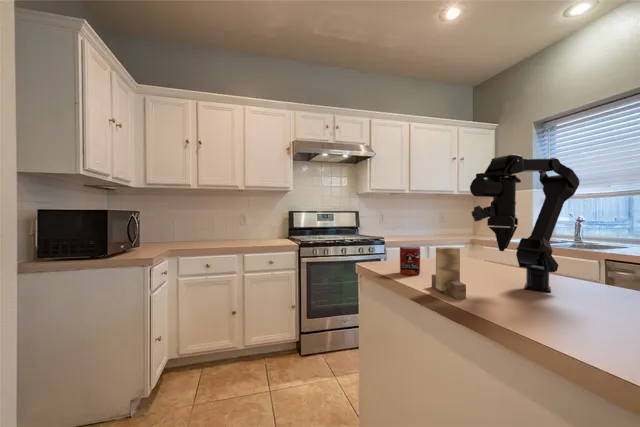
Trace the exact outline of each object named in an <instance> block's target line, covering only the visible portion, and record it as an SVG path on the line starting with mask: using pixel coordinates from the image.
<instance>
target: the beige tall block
mask: <svg viewBox="0 0 640 427" xmlns="http://www.w3.org/2000/svg"><path fill="white" fill-rule="evenodd" d="M435 274H436V288H437V289H439V290H441V291H447V281H458V282H461V248H460V247H454V246H449V247H448V246H446V247H443V246H440V247H439V246H437V247H435ZM437 289H436V290H437ZM439 290H438V291H439ZM441 291H440V292H441Z"/></svg>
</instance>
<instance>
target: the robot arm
mask: <svg viewBox="0 0 640 427" xmlns="http://www.w3.org/2000/svg"><path fill="white" fill-rule="evenodd" d="M525 172H538V174H539V179H538V180H539V182H540V184H541V185H542V186H543V187H542V192H543V194H544V197H545V198H544V200H543V203H542V206H541V208H540V211H539V214H538V216H537V219H536V220H535V224H534V225H533V226H534V227H533V229H532V232H531V233H530V236H528V237H527V238H525V237H522V238H521V239H520V240H519V243H518V246H517V247H516V254H515V255H516V260H517V263H518V266H519V268H523V269H526V274H525V275H526V278H525V279H526V280H525V282H526V283H525V284H524V289H525V290H530V291H539V292H547V293H552V287H551V286H550V273H556V272H557V271H558V268H559V263H558V262H557V260H555V258H554V256H553V255H552V254H553V248H552V245H551V243H550V240H551V238H552V235H553V233H554V230H555V228H556V225H557V223H558V220H559V218H560V217H559V216H560V214H561V211H562V210H563V207H564V204H565V202H566V201H567V200H569V199H570V198H572V197H573V196H574V195H575V193H576V192H577V190H578V188H579V185H580V179H579V177H578V176H577V174H576V173H575V172H574V170H573V169H572V168H570V167H568V166H566V165H565V164H562V163H561V162H560V160H559V159H558V158H555V157H550V158H523V156H522V155H519V154H515V153H513V154H512V153H511V154H507V155H502V156H497V157H493V158H492V159H491V161H490V163H489V164H488V166H487V168H486V169H485V171H484V172H480V173H476V174H475V178H474V179H473V180H472V181H471V183H470V185H469V191H470V194H471V195H473V196H474V197H476V198H477V197H480V198H481V197H482V198H492V200H491V202H490V205H489V206H485V207H482V206H481V205H477V206H474V207H473V210H472V211H471V217H473V218H472V219H473V221H474V222H479V221H482V220H483V219H487V227H488V228H489V229H490V230H491V231H492V232H493V233H494V234H495V239H496V243H497V247H498V250H499V252H504V251H505V250H506V249H508V247H509V245H510V243H511V240H512V239H513V237H514V234H515V233H516V231H517V229H518V225H519V218H518V217H517V215H516V205H517V201H516V199H517V198H516V196H517V195H516V189H517V188H516V187H517V186H516V185H517V183H521V181H522V180H521V179H520V178H519V177H518V176H517V175H516V174H519V173H525ZM547 172H554V173H555V174H556V175H555V174H554V175H548V174H547Z"/></svg>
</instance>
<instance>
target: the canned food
mask: <svg viewBox="0 0 640 427" xmlns="http://www.w3.org/2000/svg"><path fill="white" fill-rule="evenodd" d="M399 272H400V274H401V275H402V274H403V276H408V277H409V276H410V277H412V276H413V277H414V276H415V277H416V276H419V275H420V274H421V246H420V245H418V244H417V245H416V244H402V245H401V244H400V246H399Z"/></svg>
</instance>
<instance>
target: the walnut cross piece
mask: <svg viewBox="0 0 640 427" xmlns="http://www.w3.org/2000/svg"><path fill="white" fill-rule="evenodd" d="M431 288H434V289H436V291H439V292H441V293H443V294H445V295H447V296H449V297H451V298H453V299H455V300H466V299H467V284H465V283H462V282H461V281H460V282H458V281H447V291H441V290H439V289H437V288H436V273H435V274H434V273H433V274H432V273H431Z"/></svg>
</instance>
